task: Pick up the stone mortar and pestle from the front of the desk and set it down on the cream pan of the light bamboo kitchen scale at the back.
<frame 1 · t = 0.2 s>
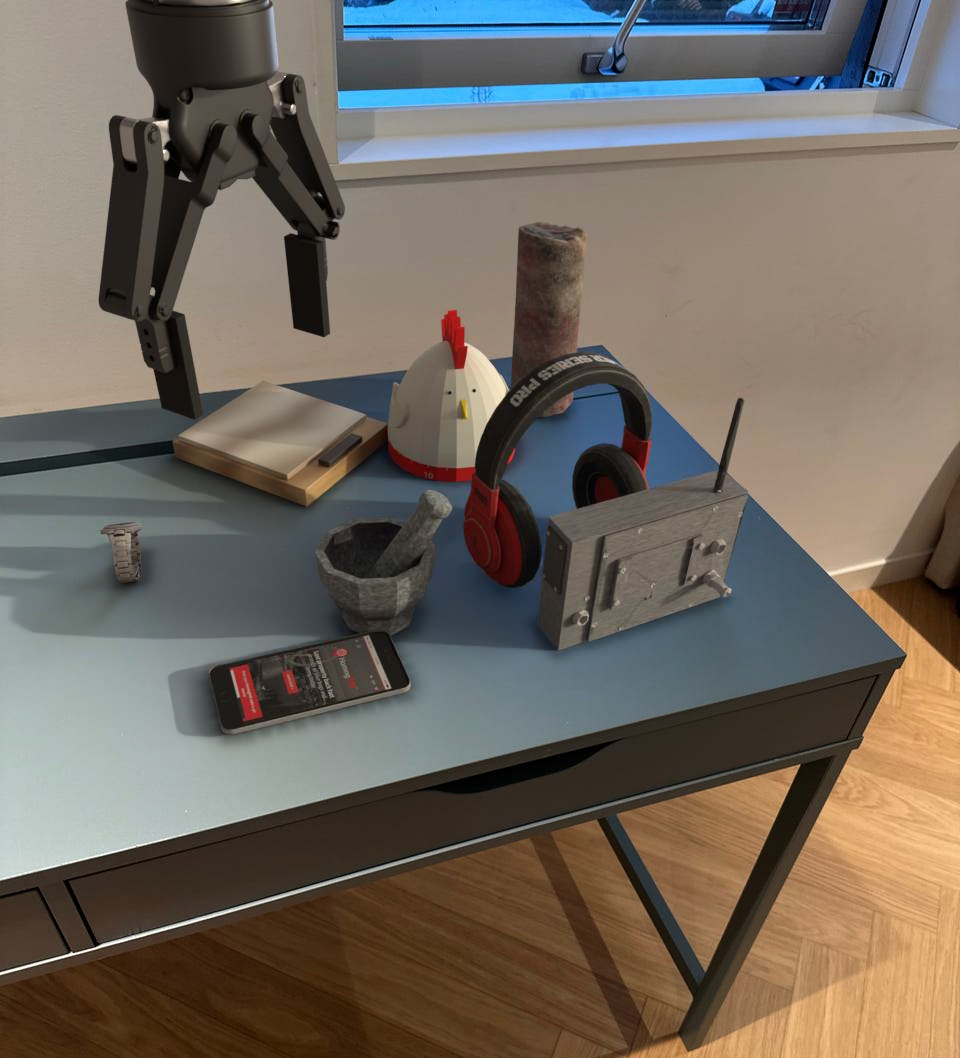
hand: (251, 369, 63), 24 cm above the table, tool pointing down, fingers open, 13 cm apart
wristwatch: (130, 573, 85), on the table
scale: (284, 448, 101), on the table
smartphone: (310, 684, 75), on the table, touching mortar and pestle
brown stone cylinder: (540, 403, 110), on the table
mortar and pestle: (386, 615, 82), on the table, touching smartphone
headphones: (552, 559, 89), on the table
kitchen timer: (451, 447, 102), on the table
electronic device: (636, 621, 83), on the table
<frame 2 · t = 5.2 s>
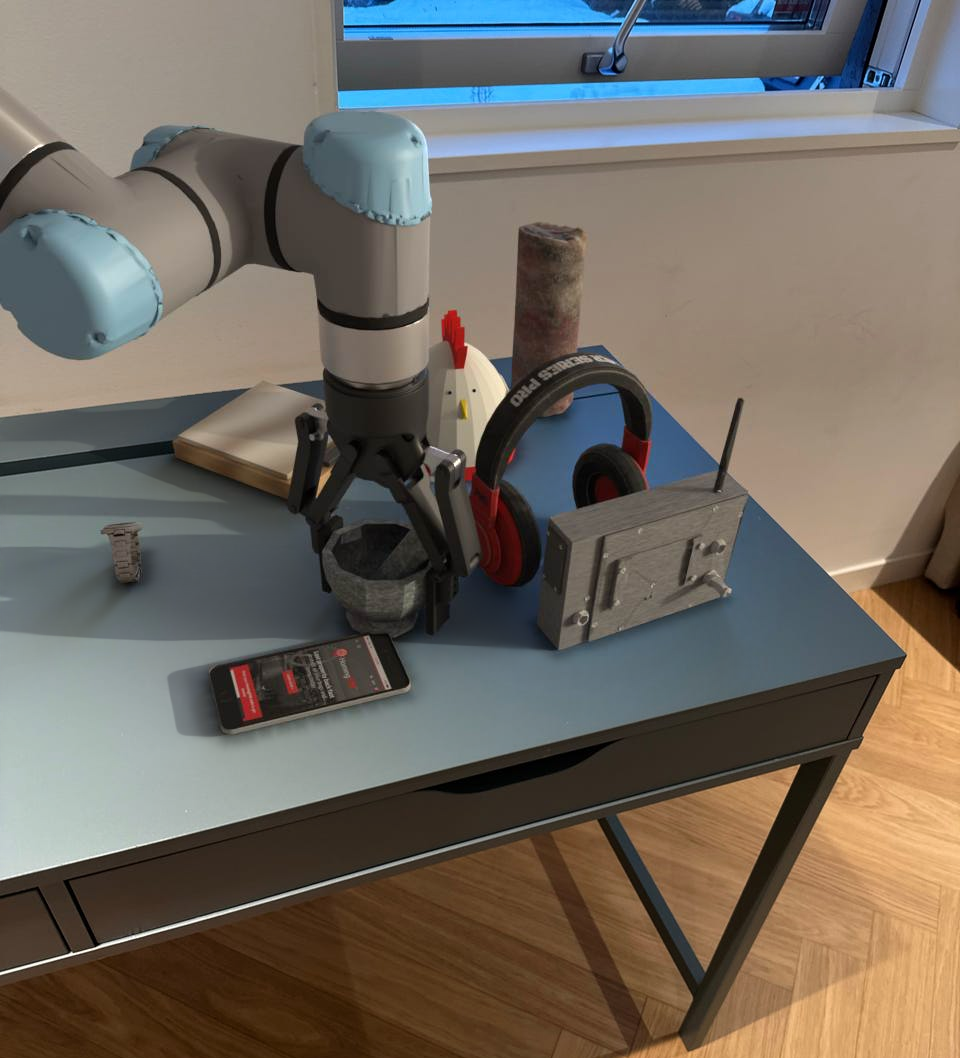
hand: (385, 604, 81), 1 cm above the table, tool pointing down, fingers closed on mortar and pestle, 10 cm apart
mortar and pestle: (390, 617, 82), on the table, touching gripper, smartphone
everything else where it was.
when the fingers open (4 cm above the table, at t = 13.2 s): mortar and pestle stays where it is, resting on scale.
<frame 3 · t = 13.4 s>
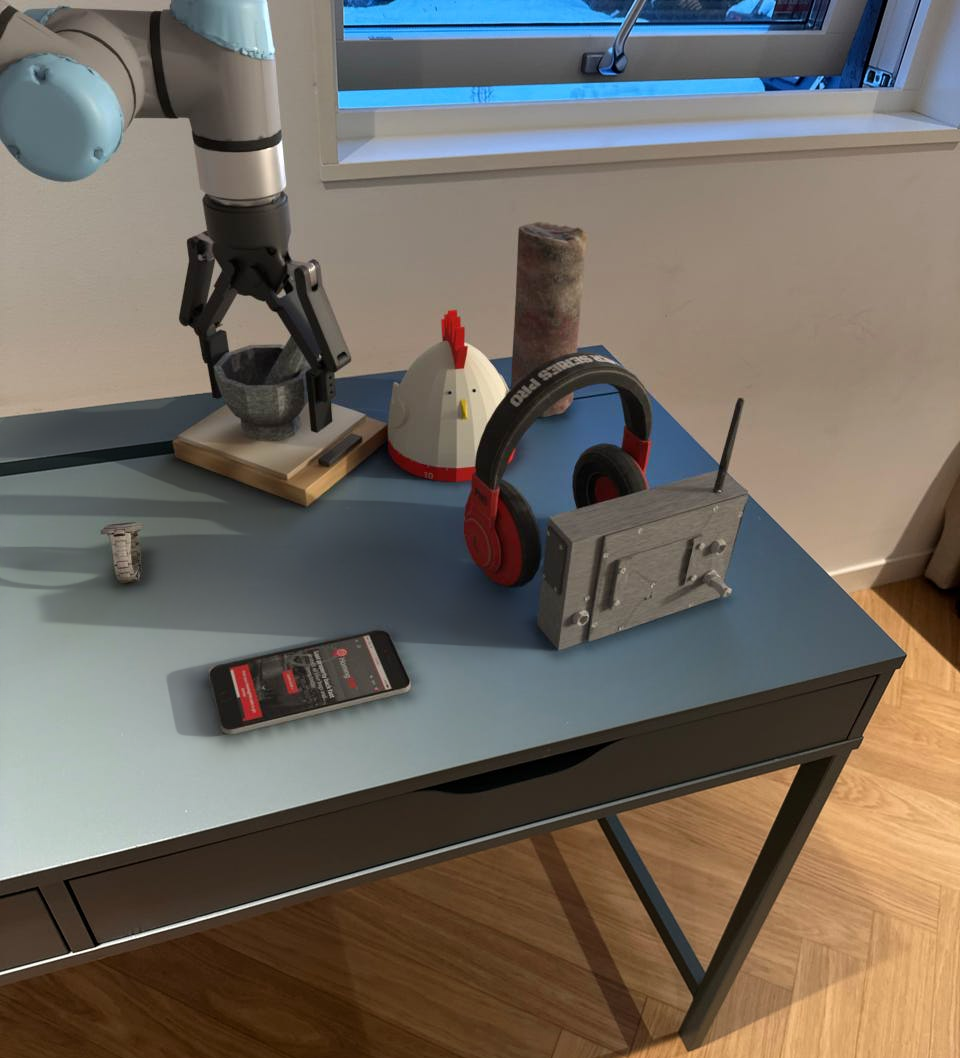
hand: (271, 409, 98), 4 cm above the table, tool pointing down, fingers open, 12 cm apart
smartphone: (310, 684, 75), on the table
mortar and pestle: (278, 427, 99), point 2 cm above the table, touching scale
everything else where it was.
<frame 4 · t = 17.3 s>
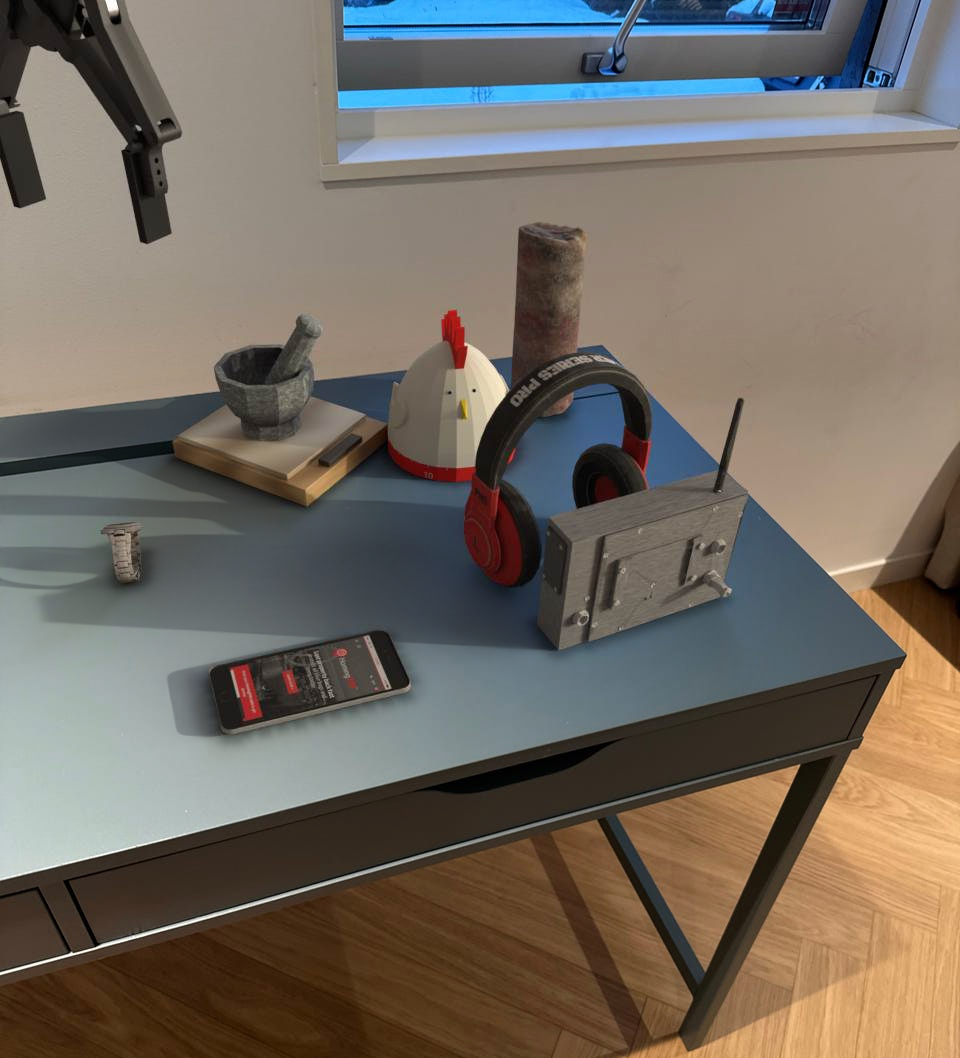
hand: (91, 220, 75), 27 cm above the table, tool pointing down, fingers open, 13 cm apart
nothing on the table moved.
at the end: mortar and pestle inside the target area on the scale (0.5 cm from its centre), point 2.4 cm above the scale's base; mortar and pestle tilted 0° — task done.
